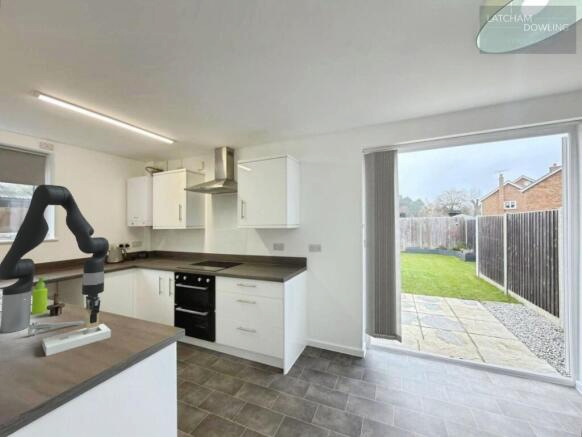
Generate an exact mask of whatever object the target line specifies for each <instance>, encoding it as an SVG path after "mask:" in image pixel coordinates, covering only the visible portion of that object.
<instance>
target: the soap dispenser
mask: <svg viewBox="0 0 582 437" xmlns="http://www.w3.org/2000/svg"><path fill="white" fill-rule="evenodd" d="M48 279H50V278H49V277H47V276H42V277H37V278H36V280H38V282H37V283H36V285H35V289H32V296H31V315H39V314H45V313H47V311H48V310H47V306H48V288H47V287H45V286H46V282H44V280H48Z"/></svg>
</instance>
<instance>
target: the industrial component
mask: <svg viewBox="0 0 582 437" xmlns="http://www.w3.org/2000/svg"><path fill="white" fill-rule="evenodd" d="M65 306H66V303H64V302H61V303H60V292H54V293H53V303H52V304H48V305H47V311H49V316H50V317H53V316H54V317H55V316H60V315H62V314H63V313H62V310H63V308H65Z"/></svg>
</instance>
